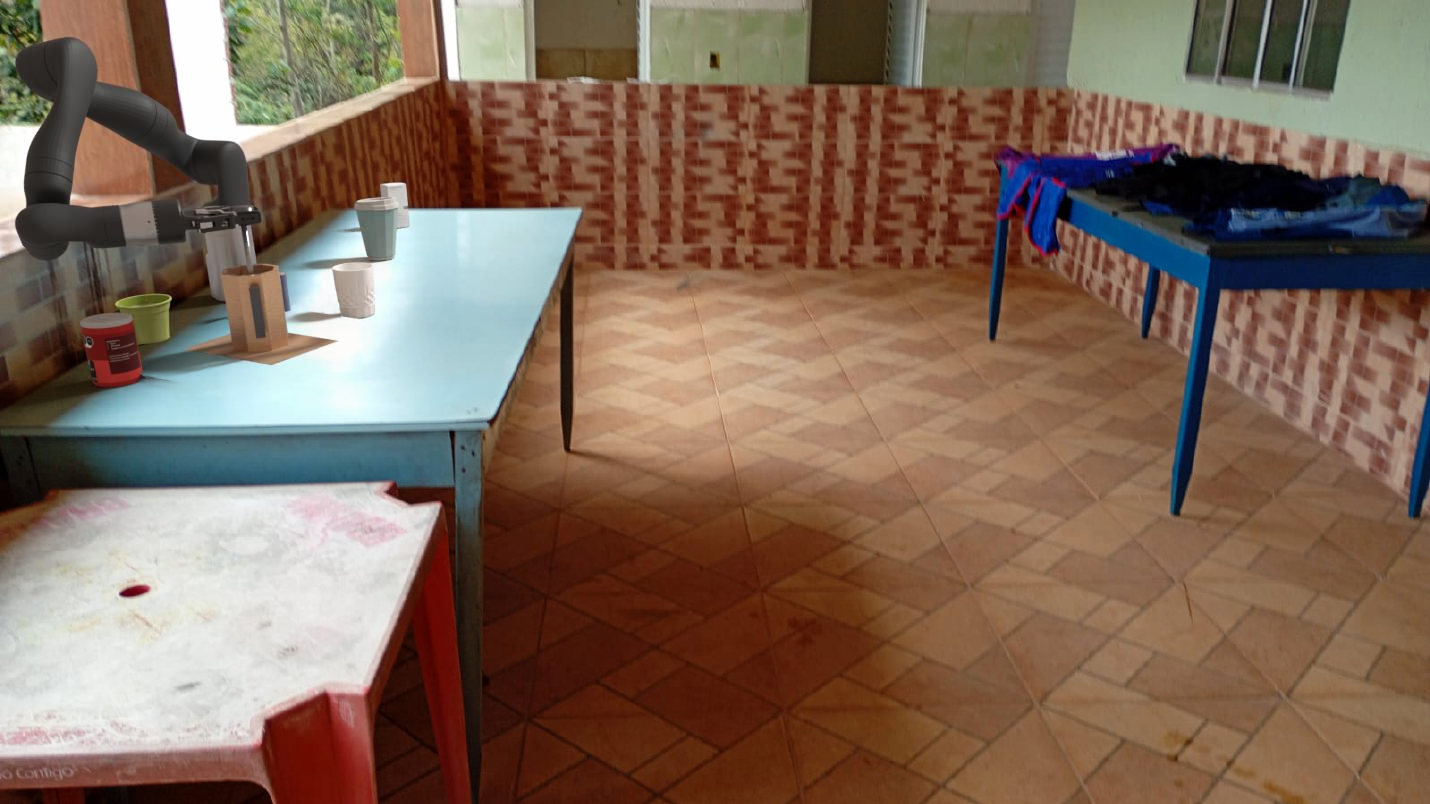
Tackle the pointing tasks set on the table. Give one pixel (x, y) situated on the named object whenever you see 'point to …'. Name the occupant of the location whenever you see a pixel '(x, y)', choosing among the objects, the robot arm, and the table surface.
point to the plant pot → (148, 316)
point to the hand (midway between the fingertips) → (258, 214)
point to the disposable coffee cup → (378, 226)
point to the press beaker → (255, 308)
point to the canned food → (111, 349)
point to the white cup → (355, 289)
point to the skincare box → (401, 197)
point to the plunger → (245, 236)
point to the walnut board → (294, 348)
